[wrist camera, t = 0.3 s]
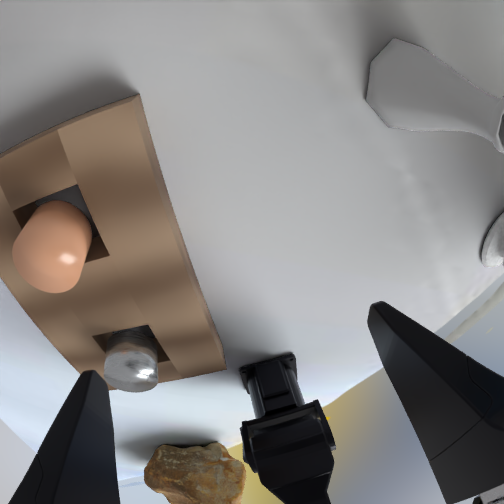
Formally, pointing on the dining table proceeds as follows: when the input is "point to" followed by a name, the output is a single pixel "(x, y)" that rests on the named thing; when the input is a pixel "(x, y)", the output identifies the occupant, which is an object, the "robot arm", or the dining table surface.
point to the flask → (430, 95)
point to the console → (110, 244)
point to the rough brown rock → (196, 475)
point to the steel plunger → (131, 362)
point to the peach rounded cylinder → (53, 247)
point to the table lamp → (494, 244)
